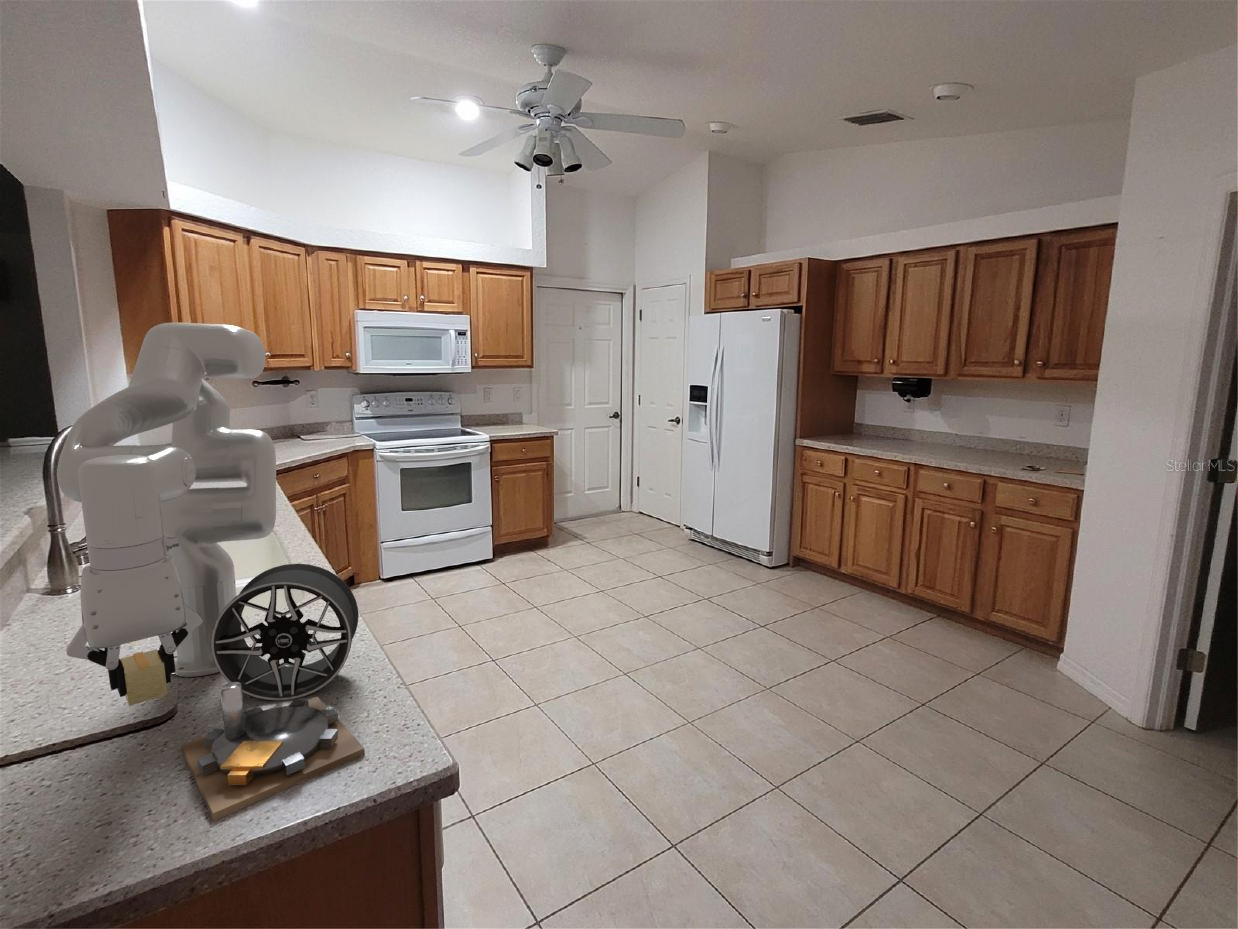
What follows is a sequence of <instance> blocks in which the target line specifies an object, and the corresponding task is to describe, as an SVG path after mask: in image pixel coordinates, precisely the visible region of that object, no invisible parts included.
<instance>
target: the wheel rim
mask: <svg viewBox="0 0 1238 929" xmlns="http://www.w3.org/2000/svg"><path fill="white" fill-rule="evenodd" d="M277 590H283V591H284V598H285V601H286V605H287V609H288V610H286V611H284V612H281V611H278V610H277V597H278V596H277V594H278V592H277ZM291 590H298V591H304V592H306V593H309V594H312V595H314V596H316V597H314V598H311V599H309V600H307V601H305V602H303V603H301V604H299V605H297V603H296V601H295V600H294V598H293V595H292V591H291ZM269 591H270V599H269V603H268V607H266V606H262V605H258V604H256V603H253V602H249V601H251V600H252V599H254V598H256V597H257V596H260V595H262V594H265V593H267V592H269ZM236 595H237V596H236V597H235V598H234V599H233V600H232V601H231V602H230V603H229V604H228V605H227V606H226V607H225V608H224V609H223V611H222V612H221V614H220V615H219V617H218V618H217V620H216V623H215V625H214V627H213V631H212V635H211V652H212V656H213V660H214V662H215V665H216V667H217V669H218V670H219V672H218V673H220V675H221V676H222V677H223V679H224V680H225V681H226V682H228V683H232V682H239V683H241V687H242V694H246V695H248V696H250V697H254V698H257V699H260V700H268V701H288V700H293V699H294V700H296V699H298V698H302V697H305V696H309V695H311V694H313V693H316V692H317V691H319V690H321V689H322V688H324V687H326V685H328V684H329V683H330V682H331V681H332V680H333V679H334V678H335V677H336V676H337V675H338V674H339V673H340V672H341V670H342V669H343V668H344V666H345V664H346V662H347V660H348V657H349V654H350V650H351V648H352V643H353V642H352V641H353V639H354V637H355V635H356V632H357V629H358V626H359V624H358V623H359V617H360V616H359V606H358V603H357V599H356V598H355V595H354V593H353V592H352V589H351V588H350V586H348V585H347V583H346V582H345V581H344V580H343V579H341V578H340V577H339V576H338V575H336V574H335V573H333V572H332V571H330V570H327V569H326V568H324V567H321V566H317V565H314V564H313V565H312V564H306V563H288V564H287V563H286V564H282V565H281V564H280V565H278V566H274V567H271V568H269V569H267V570H265V571H262V572H261V573H260V574H258V575H256V576H255V577H253V578H252V579H251V580H250V581H249V582H247V583H246V585H245V586H244V587H243V588H242V589H241V591H240V592H239V594H236ZM319 600H322V601H323V602H325V603H326V604H325V606H324V608H323V610H322V613H321V615H320V617H319V619H318V620H317V621H316V620H313V619H310V618H307V619H306V620H305V621H303V622H302V621H301V620H302V618H303V617H304V614H303V612H302V610H301V609H302V608H304V607H306V606H308V605H310V604H312V603H315V602H316V601H319ZM245 607H249V608H253V609H256V610H259V611H261V612H265V613H266V614H265V617H264V620H263V621H264V622H265V623H266V624H265V623H263V622H262V621H261V622H260V623H257V624H255V625H253V626H251V627H249V625H248V624H247V622H246V621H245V619H244V618H243V611H244V609H245ZM329 607H330V609H331V610H332V611H333V612H334V614H335V615H336V618H337V619H338V623H339V626H331V625H327V624H324V623H322V622H323V619H324V617H325V615H326V613H327V610H328V609H329ZM288 615H290V616H288ZM242 628H243V630H242ZM309 631H313V632H312V633H309ZM317 632H321V633H328V634H339V633H340V637H339V638H333V639H326V640H318V639H317V637H316V634H317ZM256 635H258V636H259V638H257V636H256ZM248 638H250V639H251V641H252V642H253V643H252V645H251V646H250V647H249V646H248V645H247V643H246V642H247V641H246V639H248ZM257 644H258V645H259V644H260V646H258V645H257ZM333 645H336V646H335V648H334V649H332V650H331V652H329V653H328V654H327V653H326V652H325V650H324V648H326V647H329V646H333ZM315 651H318V652H320V654H321V656H322V658H320V659H318V660H316V661H314V662H312V663H308V664H304V665H303V663H304V661H305V658H306V656H307V653H312V652H315ZM305 652H307V653H305ZM265 655H269V657H268V658H267V660H266V659H264V658H263V657H264V656H265ZM290 659H291V660H294V662H292V661H291V660H290ZM281 660H283V662H281V663H280V661H281Z"/></svg>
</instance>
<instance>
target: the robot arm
mask: <svg viewBox="0 0 1238 929" xmlns="http://www.w3.org/2000/svg"><path fill="white" fill-rule="evenodd" d="M266 357H267V356H266V349H265V346H264V343H263V341H262V340H261V337H260V336H258V334H257V333H255V332H253V331H251V330H248V329H245V328H243V327H239V326H236V325H230V324H221V323H220V324H219V323H197V322H196V323H195V322H163V323H160V324H157V325H155V326H153V327H151V328H150V329H149V330H148V331H147V332H146V334H145V336H144V339H143V341H142V344H141V348H140V350H139V354H138V356H137V360H136V363H135V365H134V368H133V372H132V374H131V377H130V381H129V385H128V386H127V387H125V388H123V389H121V390H118V391H117V392H114V393H113V394H111V395H110V396H108V397H107V398H105V399H103V400H102V401H100V402H98V403H97V404H95V405H94V406H92V407H91V408H89V409H88V410H87V411H85V412H84V413H83V414H81V415H80V416H79V417H78V418H77V419H76V421H75V422H73V423H72V426H71V428H70V430H69V432H68V435H67V437H66V439H65V441H64V444H63V448H62V450H61V453H60V456H59V460H58V465H57V470H56V477H57V478H56V480H57V484H58V487H59V489H60V491H61V493H63V495H64V496H65V497H67V498H68V499H70V500H71V501H74V502H77V503H81V509H82V517H83V524H84V531H85V538H86V546H87V552H88V562H89V565H87V566H84V567H83V568H82V571H81V575H80V576H81V577H80V608H81V609H80V610H81V622H82V623H81V626H80V628H79V629H78V630H77V632H76V633H75V635H74V636H73V638H72V639H71V641H70V642H69V644H68V646H66V649H65V652H66V655H67V657H70V658H76V659H82V660H88V661H90V662H92V663H94V664H96V665H99V666H102V667H103V668H105V669H106V670H108V672H107V673H108V680H109V687H110V690H111V691H113V690H117V692H118V694H119V697H120V698H121V697H125V695H126V694H127V693H126V685H125V677H124V667H123V664H122V661H121V660H120V659H121V658H120V651H121V646H122V645H125V644H126V645H127V644H129V643H133V642H138V641H141V640H145V639H149V638H154V637H157V636H158V639H159V640H160V645H159V647H158V649H157V650H158V654H159V656H160V658H161V660H163V662H164V668H165V676H166V685H167V684H170V683H172V679H171V678H172V677H171V673H175V674H177V675H178V676H177V677H184V678H191V677H200V676H201V677H202V676H208V675H212V674H217V673H220V672H219V670H218V669H217V667H216V665H215V662H214V660H213V656H212V652H211V635H212V631H213V627H214V625H215V623H216V620H217V618H218V617H219V615H220V614H221V612H222V611H223V609H224V608H225V607H226V606H227V605H228V604H229V603H230V602H231V601H232V600H233V599H234V598H235V597H236V596H237V595H238V594H237V585H236V572H235V565H234V561H233V559H232V557H231V556H230V554H229V553H228V552H227V551H226V550H225V548H223V547H222V546H221V545H220V543H222V542H223V543H224V542H226V543H227V542H236V541H237V542H238V541H239V542H240V541H250V540H252V541H253V540H260V539H265V538H266V537H268V536H270V535H271V534H272V532H274V528H275V525H276V519H277V454H276V448H275V444H274V442H273V439H272V438H271V436H270V435H269V434H268V433H267V432H265V431H263V430H258V429H251V428H250V429H249V428H247V429H246V428H245V429H243V428H241V429H237V428H236V429H230V418H231V416H230V414H231V408H230V405H229V403H228V402H227V400H226V399H225V398H224V396H223V395H222V394H220V392H219V391H217V390H216V389H215V388H214V387H213V386H212V385H211V384H209V383H208V382H207V381H206V380H205V379H204V378H210V379H213V378H214V379H215V378H216V379H255V378H258V377H259V376H260V375H261V374H262V373H263V372H264V369H265V365H266ZM170 424H172V428H171V429H172V430H171V445H168V444H167V445H164V444H161V445H160V444H155V445H154V444H153V445H152V444H151V445H150V444H149V445H145V444H144V445H135V444H134V445H131V444H129V445H127V444H126V445H117V443H119V442H121V441H123V440H125V439H128V438H130V437H132V436H135V435H137V434H141V433H145V432H149V431H152V430H155V429H158V428H161V427H164V426H168V425H170ZM233 482H235V483H236V482H238V483H239V482H243V483H245V484H246V486H235V487H234V486H232V487H231V486H228V487H227V486H226V487H196V488H191V487H192V486H193V484H194V483H196V484H198V483H200V484H201V483H202V484H205V483H233ZM246 643H247V645H248V646H249V647H251V644H250V643H249V642H247V641H246ZM86 644H88V646H87V645H86Z"/></svg>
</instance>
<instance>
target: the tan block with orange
mask: <svg viewBox="0 0 1238 929" xmlns="http://www.w3.org/2000/svg"><path fill="white" fill-rule="evenodd" d="M158 650H159V649H153V650H152V649H151V650H149V651H145V652H144V651H139V652H135V653H132V654H133V655H129V656H126V657H122V658H119V659H120V660H121V661H122V664H123V667H124V677H125V685H126V693H127V694H126V695H125V696H124V697H125V699H126V701H127V706H129V707H131V706H134V705H137V704H140V703H143V702H147V701H150V700H154V699H156V698H157V699H158V698H159V697H163V696H167V695H168V685H167V684H166V676H165V668H164V662H163V660H161V658H160V656H159V654H158Z"/></svg>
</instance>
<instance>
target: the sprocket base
mask: <svg viewBox="0 0 1238 929" xmlns="http://www.w3.org/2000/svg"><path fill="white" fill-rule="evenodd" d="M307 700H308V703H309V707H312V708H315V709H318V710H320V711H321V710H323V709H326V708H328V707H327V705H326V704H324V702H323V701H322V700H321V699H320V698H319V697H318V696H315V697H312V698H309V699H307ZM328 729H338V739H337V740H336V742H335V743H334V745H333V746H332V748H319V749H318V750H317V751H316V752H315V753H313V754H312V755H311V756H309V757H308V758H306V759H305V760H304V762H305V768H303V769H301V770H298V771H296V772H294V773H292V774H289V775H286V774H285V773H284V771H283V770H280V771H277V772H274V773H270V774H265V775H260V776H253V778H252V779H251V780H250V781H249V782H248V784H247V785H228V775H226V774H223V773H221V772H219V771H218V770H217V771H214V772H212V773H209V774H207V775H204V776H203V775H202V774H201V772H200V770H199V768H198V760H197V758H200V757H202V756H205V755H207V754H210V753H212V751H211V749H212V748H205V745H204V738H205V737H206V736H207V735H208V734H206V735H204V736H200V737H197V738H195V739H193V740H190V741H186V742H184V743H181V744H180V748H181V753H182V756H183V758H184V759H185V761H186V763H187V766H188V768H189V770H190V772H191V774H192V777H193V779H194V780H195V783H196V785H197V787H198V789H199V792H200V794H201V796H202V798H203V800H204V803H205V805H206V808H207V810H208V812H209V814H210V816H211V818H212V820H213V821H216V820H218V819H221V818H223V817H226V816H228V815H230V814H233V813H235V812H237V811H239V810H242V809H244V808H246V807H249V806H251V805H253V804H256V803H257V802H260V801H262V800H264V799H267V798H269V797H272V796H273V795H277V794H278V793H280V792H283V791H285V790H287V789H290V788H292V787H294V786H296V785H299V784H301V783H303V782H305V781H308V780H310V779H313V778H315V777H317V776H319V775H321V774H324V773H326V772H328V771H331V770H333V769H335V768H337V767H340V766H342V765H344V764H347V763H348V762H351V761H354V760H355V759H358V758H360V757H362V756H364V755H366V752H365V746H363V745H362V744H361V743H360V742H359V740H358V739H356V737H355V736H354V735H353V734H352V732H351V731H350V730H348V728H347V727H346V726H345V725H344V724H343V723H342V722H341V721H340V720H339V719H338V721H336V722H334V723H332V724H329V725H328Z"/></svg>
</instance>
